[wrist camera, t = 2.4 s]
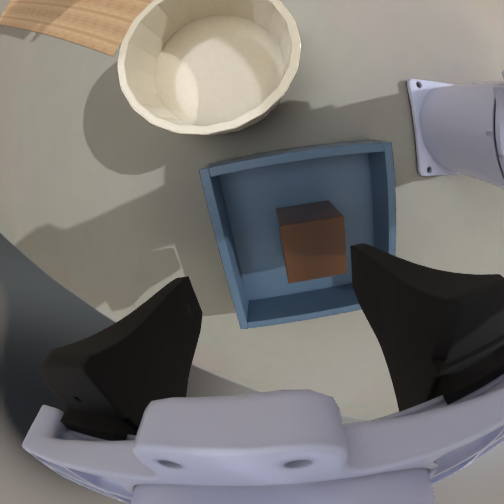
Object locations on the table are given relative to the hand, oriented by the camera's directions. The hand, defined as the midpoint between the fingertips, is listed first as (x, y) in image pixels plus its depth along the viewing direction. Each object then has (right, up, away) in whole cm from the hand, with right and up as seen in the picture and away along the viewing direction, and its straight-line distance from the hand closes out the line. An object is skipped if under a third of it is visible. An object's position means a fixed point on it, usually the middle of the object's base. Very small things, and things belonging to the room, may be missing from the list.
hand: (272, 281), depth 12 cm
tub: (+3, +3, +9) cm, 10 cm away
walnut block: (+3, +3, +9) cm, 10 cm away
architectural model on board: (-18, +29, -2) cm, 34 cm away
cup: (-3, +14, +4) cm, 15 cm away
